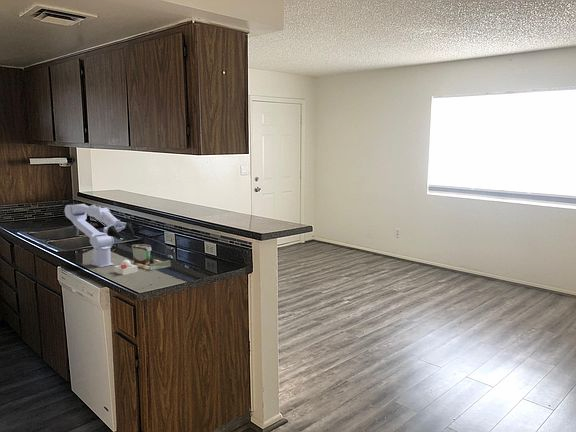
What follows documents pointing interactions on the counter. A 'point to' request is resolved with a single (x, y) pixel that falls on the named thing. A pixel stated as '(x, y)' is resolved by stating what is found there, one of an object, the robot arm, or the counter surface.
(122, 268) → the dome housing
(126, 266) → the dome
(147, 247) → the food container
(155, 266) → the bracket
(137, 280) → the counter surface
